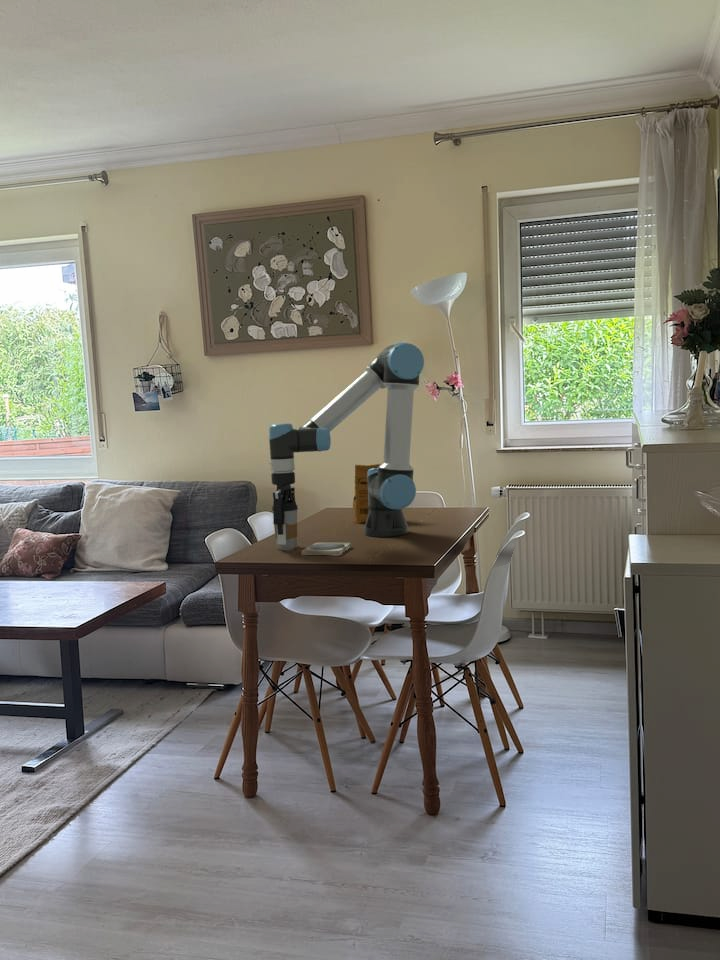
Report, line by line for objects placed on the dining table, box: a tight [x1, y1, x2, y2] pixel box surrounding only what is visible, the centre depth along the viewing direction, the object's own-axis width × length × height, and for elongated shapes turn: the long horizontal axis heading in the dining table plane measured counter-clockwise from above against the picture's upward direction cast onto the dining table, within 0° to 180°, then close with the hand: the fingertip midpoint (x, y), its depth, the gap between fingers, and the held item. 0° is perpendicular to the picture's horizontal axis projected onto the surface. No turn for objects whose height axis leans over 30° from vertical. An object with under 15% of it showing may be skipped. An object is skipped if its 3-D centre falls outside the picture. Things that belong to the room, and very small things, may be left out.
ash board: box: [301, 541, 353, 557], centre depth 270 cm, size 14×12×2 cm
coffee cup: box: [271, 501, 299, 551], centre depth 278 cm, size 8×8×15 cm
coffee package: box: [352, 463, 382, 524], centre depth 326 cm, size 10×12×22 cm
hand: (286, 541), depth 278 cm, fingers closed on coffee cup, 8 cm apart
